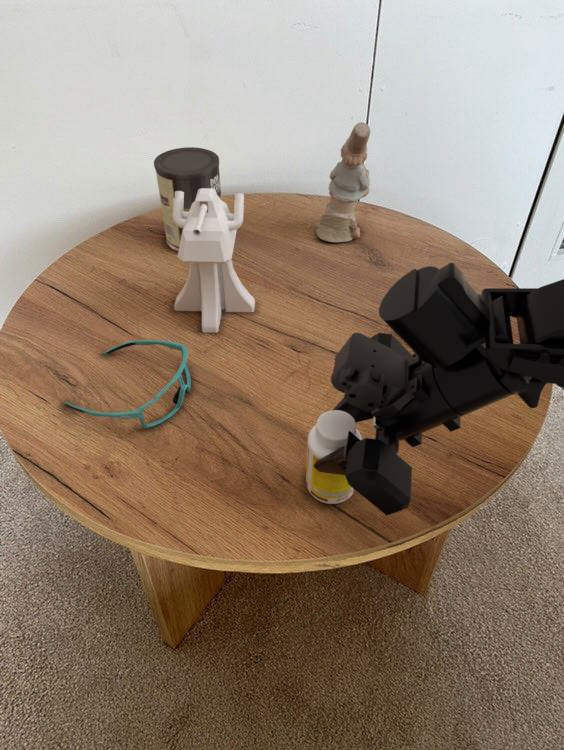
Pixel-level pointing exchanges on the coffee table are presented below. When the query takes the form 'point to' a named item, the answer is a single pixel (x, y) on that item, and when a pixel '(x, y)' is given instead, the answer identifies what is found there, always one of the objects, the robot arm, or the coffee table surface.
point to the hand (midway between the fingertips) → (321, 445)
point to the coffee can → (184, 182)
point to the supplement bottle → (321, 443)
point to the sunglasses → (177, 397)
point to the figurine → (346, 189)
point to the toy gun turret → (210, 257)
